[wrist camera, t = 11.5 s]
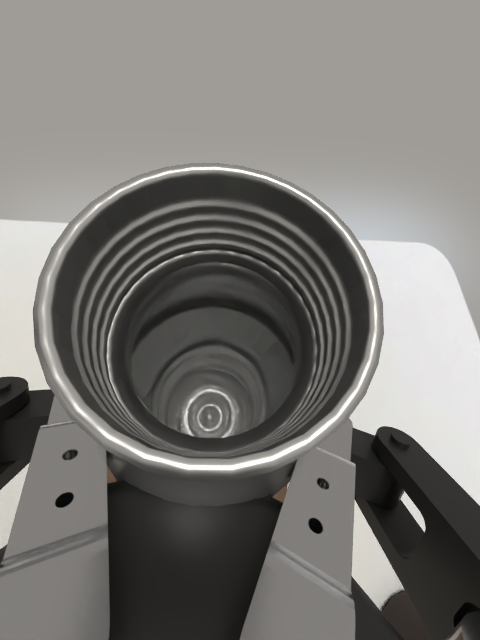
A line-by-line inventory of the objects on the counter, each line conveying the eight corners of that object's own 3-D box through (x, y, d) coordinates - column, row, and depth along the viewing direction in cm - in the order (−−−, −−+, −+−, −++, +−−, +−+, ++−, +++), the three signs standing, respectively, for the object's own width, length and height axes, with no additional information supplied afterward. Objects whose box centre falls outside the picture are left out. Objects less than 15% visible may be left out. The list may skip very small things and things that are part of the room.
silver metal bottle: (253, 381, 22) (441, 142, 4) (244, 470, 19) (721, 884, 1) (179, 370, 22) (51, 62, 4) (159, 459, 19) (-666, 811, 1)
